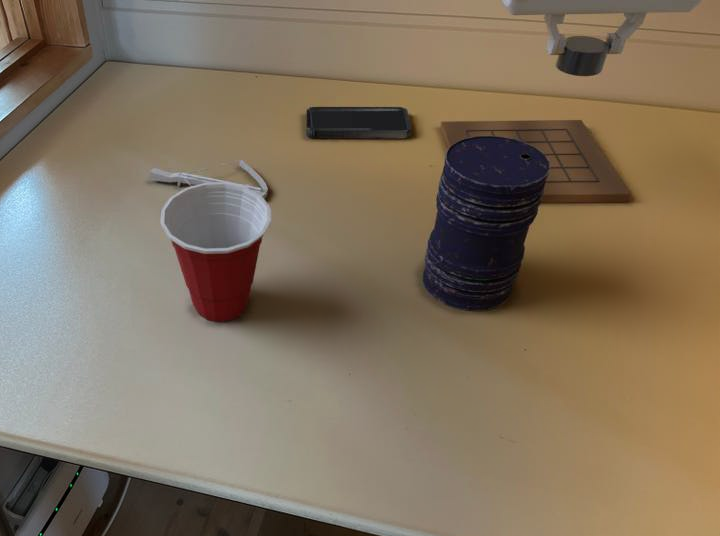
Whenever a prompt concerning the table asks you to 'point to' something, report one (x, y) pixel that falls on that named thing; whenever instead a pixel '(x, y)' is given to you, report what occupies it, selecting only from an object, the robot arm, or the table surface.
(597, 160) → the board
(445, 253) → the dark blue cylinder
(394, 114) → the phone
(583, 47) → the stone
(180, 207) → the plastic cup
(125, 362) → the table surface
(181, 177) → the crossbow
